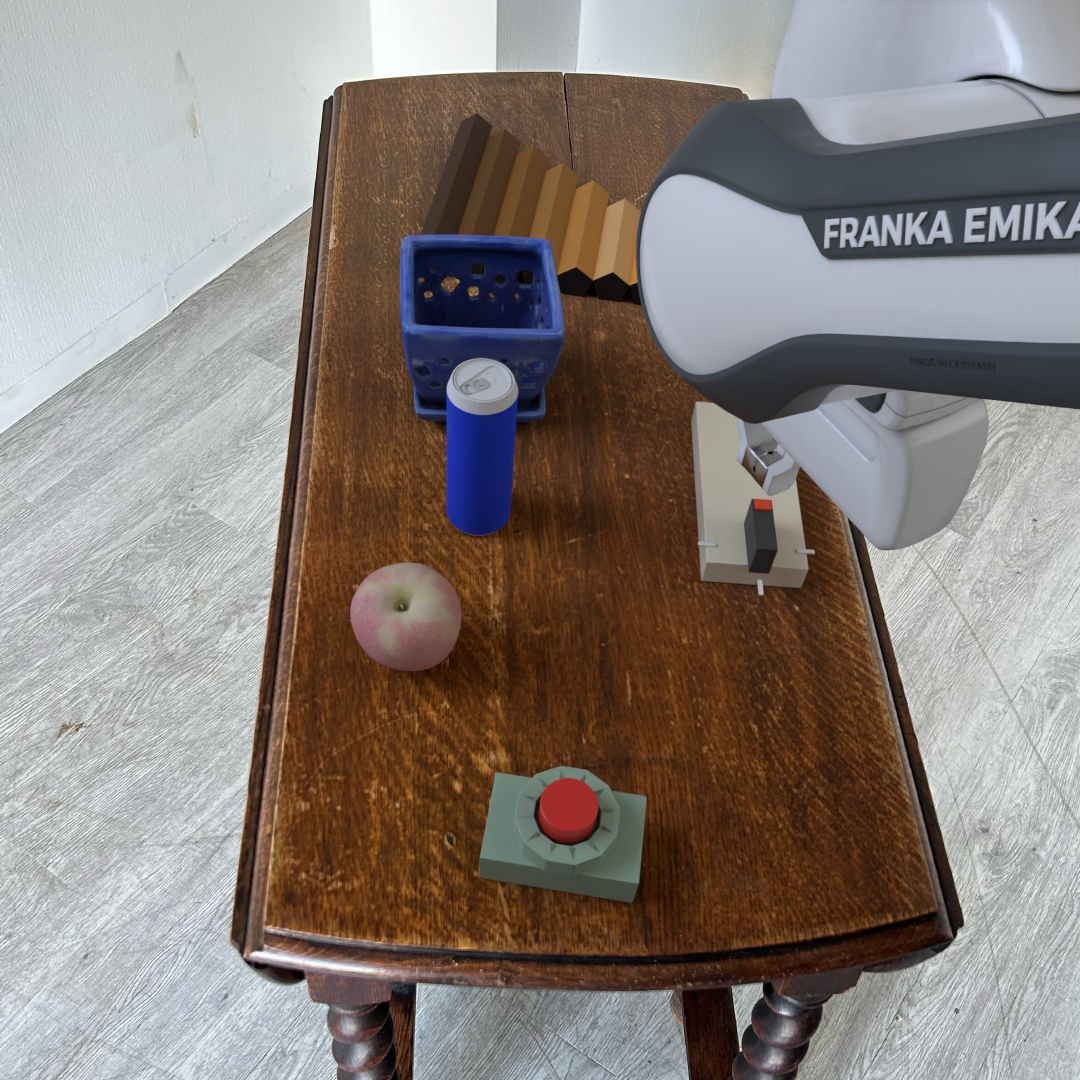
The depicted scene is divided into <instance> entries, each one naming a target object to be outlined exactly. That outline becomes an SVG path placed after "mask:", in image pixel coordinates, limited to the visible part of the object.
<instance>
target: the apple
mask: <svg viewBox="0 0 1080 1080" xmlns="http://www.w3.org/2000/svg"><path fill="white" fill-rule="evenodd" d="M349 615H350V623H351V627H352V630H353V633H354V636H355V639H356V640H357V642H358V644H359V645H360V648H362V650H363V651H364V652H365V653H366V654H367V655H368V656H369V657H370V658H371V659H372V660H374V662H376V663H378V664H379V665H382V666H383V667H386V668H390V669H393V670H397V671H403V672H419V671H424V670H428V669H431V668H433V667H435V666H437V665H439V664H440V663H442V662H443V661H444V660H445V659H447V657H448V656H449V655H450V653H451V652H452V651H453V649H454V647H455V645H456V643H457V641H458V637H459V635H460V632H461V631H460V630H461V625H462V607H461V603H460V600H459V597H458V594H457V593H456V590H455V588H454V586H453V585H452V584H451V583H450V581H449V580H448V579H447V578H446V577H444V576H443V575H442V573H440V572H438V571H437V570H436V569H434V568H432V567H430V566H428V565H425V564H423V563H419V562H397V563H393V564H389V565H386V566H383V567H380V568H378V569H375V570H374V571H373V572H371V573H370V574H369V575H367V576H366V577H365V578H364V579H363V581H362V582H361V583H360V584H359V586H358V587H357V590H356V591H355V593H354V595H353V596H352V599H351V604H350V611H349Z"/></svg>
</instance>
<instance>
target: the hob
mask: <svg viewBox="0 0 1080 1080" xmlns="http://www.w3.org/2000/svg"><path fill="white" fill-rule="evenodd" d="M694 403H695V404H694V408H693V412H692V416H691V420H690V424H691V425H690V426H691V441H692V457H693V458H692V459H693V471H694V472H693V474H694V475H693V476H694V487H695V490H694V491H695V506H696V517H697V518H696V521H697V522H696V523H697V537H698V541H697V547H698V552H699V567H700V581H701V582H710V583H711V582H712V583H725V584H738V585H752V586H757V593H758V596H760V597H761V596H764V595H765V593H764V586H766V587H779V588H780V587H781V588H794V589H802V587H803V585H804V581H805V579H806V577H807V574H808V571H809V563H808V556H807V555H815V554H816V551H815V549H809V548H808V549H807V548H806V541H805V534H804V527H803V519H802V512H801V505H800V498H799V490H798V483H797V478H796V479H795V482H794V484H793V485H792V486H791V487H790V488H789V489H787V490H785V491H783V492H781V493H778V494H776V495H773V496H768V495H767V494H766V492H765V491H764V490H763V489H762V488H761V487H760V485H759V484H758V483H757V482H756V481H755V480H754V478H753V477H752V476H751V475H750V474H749V473H748V471H747V470H746V469H745V468H744V467H743V466H742V465H741V464H740V463H739V462H738V461H737V459H736V458H737V454H738V451H739V447H740V444H741V439H740V436H739V431H738V425H737V420H736V417H735V416H734V415H732V414H730V413H728V412H726V411H725V410H723V409H722V408H720V407H719V406H717V405H716V404H714V403H713V402H711V401H710V402H709V401H708V402H707V401H695V402H694ZM751 499H767V500H772V506H773V514H774V522H775V530H776V538H777V547H778V551H777V554H776V556H775V559H774V562H773V564H772V567H771V570H770V573H769V574H764V573H750V572H749V570H748V560H747V550H746V540H745V530H744V521H745V518H746V515H747V512H748V509H749V506H750V502H751Z"/></svg>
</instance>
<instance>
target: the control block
mask: <svg viewBox="0 0 1080 1080" xmlns="http://www.w3.org/2000/svg"><path fill="white" fill-rule="evenodd" d="M562 778H574V779H578V780H580V781H582V782H584V783H586V784H587V785H588V786H590V788H591V789H592V790H593V791H594V793H595V795H596V797H597V800H598V813H597V818H596V822H595V825H594V828H593V830H592V831H591V833H590V834H589V835H588V836H587V837H586V838H584V839H582V840H580V841H578V842H574V843H563V842H559V841H556V840H554V839H553V838H551V837H550V836H548V835H547V834H546V833H545V831H544V830H543V829H542V827H541V825H540V822H539V807H540V800H541V796H542V793H543V792H544V790H545V789H546V787H547V786H548V785H549V784H551V783H552V782H554V781H556V780H559V779H562ZM491 791H492V792H491V796H490V801H489V807H488V811H487V817H486V823H485V829H484V833H483V838H482V843H481V849H480V855H479V867H478V878H479V879H484V880H490V881H495V882H502V883H508V884H514V885H520V886H525V887H526V886H527V887H533V888H540V889H545V890H551V891H557V892H562V893H568V894H573V895H574V894H576V895H582V896H587V897H593V898H600V899H605V900H611V901H617V902H624V903H629V904H633V902H634V899H635V896H636V894H637V890H638V887H639V884H640V878H641V877H640V875H641V866H642V853H643V843H644V835H645V834H644V831H645V821H646V810H647V801H648V800H647V799H648V797H647V795H641V794H635V793H629V792H622V791H617V790H612V788H611V786H609V785H608V783H606V782H605V781H603V780H602V779H601V778H599V777H598V776H597V775H595V774H593V773H592V772H591V771H590V770H589V769H584V768H578V767H572V766H566V765H560V766H556V767H553V768H550V769H547V770H544V771H541V772H538V773H535V774H534V775H533V776H532V777H529V776H524V775H516V774H510V773H504V772H496V771H495V775H494V781H493V785H492V790H491Z"/></svg>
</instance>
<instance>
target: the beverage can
mask: <svg viewBox="0 0 1080 1080" xmlns="http://www.w3.org/2000/svg"><path fill="white" fill-rule="evenodd" d="M517 403H518V386H517V383H516V381H515V378H514V375H513V373H512V372H511V370H510V369H509V368H508V367H506V366H505V365H504V364H502V363H500V362H498V361H495V360H492V359H485V358H477V359H471V360H467V361H465V362H463V363H461V364H459V365H458V366H457V367H456V368H455V369H454V371H453V372H452V375H451V377H450V379H449V382H448V384H447V422H446V514H447V518H448V520H449V521H450V523H451V524H452V526H453V527H455V528H456V529H457V530H459V531H460V532H462V533H464V534H466V535H470V536H474V537H485V536H489V535H492V534H494V533H496V532H498V531H499V530H501V529H503V528H504V526H505V525H507V523H508V521H509V519H510V517H511V509H512V493H513V479H514V477H513V476H514V463H515V462H514V461H515V447H516V446H515V445H516V433H517V422H516V418H517Z"/></svg>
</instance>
